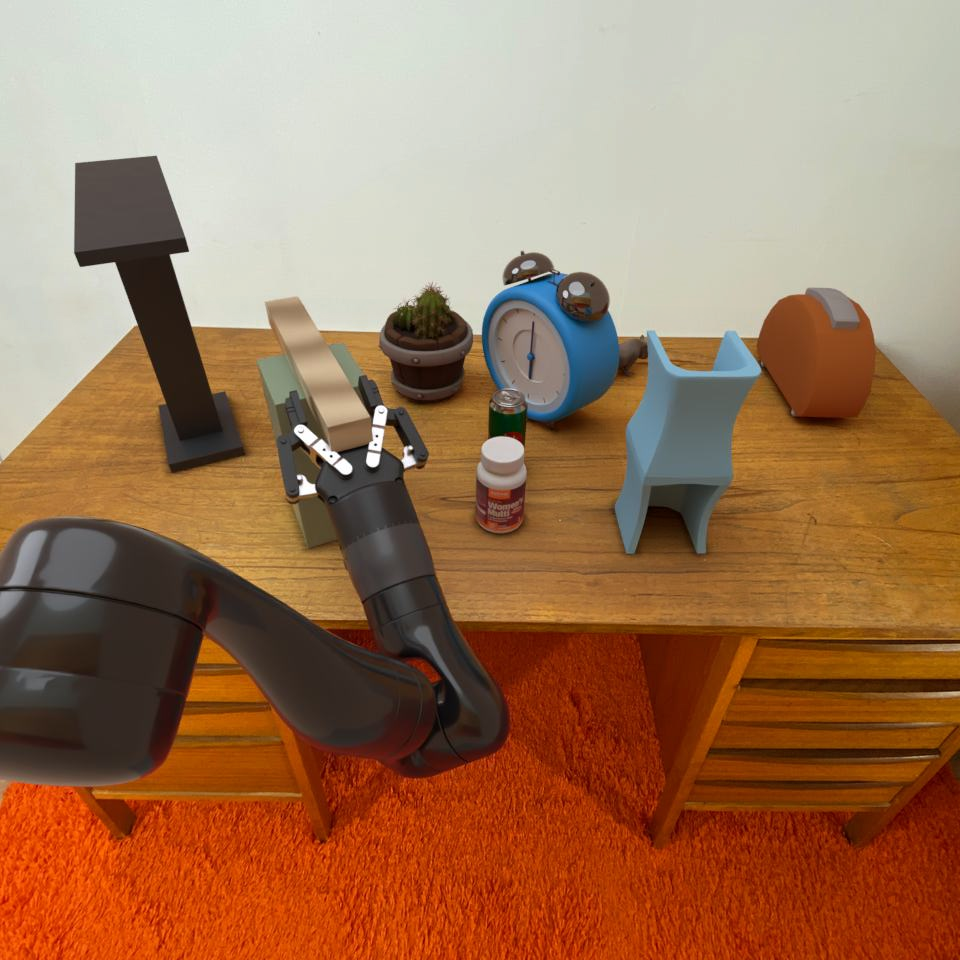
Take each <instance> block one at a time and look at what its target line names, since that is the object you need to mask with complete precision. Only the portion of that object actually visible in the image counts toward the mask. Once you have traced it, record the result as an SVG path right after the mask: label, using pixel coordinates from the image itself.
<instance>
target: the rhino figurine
mask: <svg viewBox="0 0 960 960" xmlns="http://www.w3.org/2000/svg"><path fill="white" fill-rule="evenodd" d="M644 339H645V335H644V334H641V336H639V338H637V337H636V338H630V339H627V340H626V341H622V342H620V343H619V365H618V370H622V374H623V375H625V376H627V377H630V376H631V375H632V372H631V371H630V368H631V367H633V365H634V364H635V363H636V362H637V361H638V359H639V360H648V346H647V341H645V340H644Z"/></svg>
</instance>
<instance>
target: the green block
mask: <svg viewBox="0 0 960 960" xmlns="http://www.w3.org/2000/svg"><path fill="white" fill-rule="evenodd" d="M327 345H328V347H329V349H330V350H331V352H332V354H333V355H334V357H335V359H336V360H337V362H338V364H339V365H340V367H341V369H342V370H343V372H344V374H345V375H346V377H347V379H348V380H349V382H350V384H351V385H352V387H353V389H354V390H355V392H356V394H357V395H358V397H359V399H360V400H361V402H362V404H363V405H364V407H365V409H366V406H365V404H364V401H363V398H362V396H361V393H360V390H359V387H358V380H359V376H363V375H365V373H364V372H363V371H362V369H361V367H360V366H359V364H358V363H357V361H356V360H355V358H354V356H353V355H352V353H351V352H350V350H349V348H348V347H347V345H346V344H345V343H344V342H343V341H341V342H336V343H333V344H327ZM256 365H257V369H258V373H259V378H260V382H261V386H262V390H263V394H264V398H265V402H266V406H267V411H268V415H269V418H270V423H271V427H272V431H273V436H274V440H275V444H276V445H277V442H276V440H277V438H278V437H279V436H281V435H287V434H288V433H290V432H291V430H292V428H291V425H290V422H289V419H288V416H287V413H286V409H285V399H286V398H289V392H290V391H294V390H297V392H298V395H299V398H300V401H301V404H302V407H303V410H304V413H305V416H306V419H307V422H308V429H309V430H310V431H311V432H312V433H313V434H314V435H316V436H317V437H318V438H321V439H322V440H323V441H325V442H326V440H325V438H324V436H323V434H322V432H321V430H320V428H319V426H318V424H317V422H316V420H315V418H314V416H313V413H312V411H311V409H310V407H309V405H308V403H307V401H306V399H305V397H304V395H303V393H302V391H301V389H300V387H299V385H298V382H297V380H296V378H295V376H294V374H293V372H292V370H291V368H290V366H289V364H288V362H287V360H286V358H285V356H284V354H283V353H281V354H278V355H272V356H266V357H262V358H257V359H256ZM366 410H367V409H366ZM372 425H373V418H372V417H371V426H372ZM326 443H327V442H326ZM292 453H293V458H294V463H295V468H296V474H297V475H304V476H305V477H306V479H307V481H308V482H309V483H311V484H315V482H316V480H317V477H318V475H319V472H320V468H319V467H317V466H316V465H315V464H314V463H313V462H312V461H311V459H310V457H309V456H308V455H307V454H306V453H305V452H303V451H302V450H301V449H300V448H298V449H296V450H295V451H293V452H292ZM291 507H292V510H293V512H294V514H295V518H296V520H297V523H298V526H299V528H300V531H301V533H302V536H303V539H304V542H305V544H306V548H307V549H308V550H309V549H311V548H315V547H318V546H322V545H325V544H327V543H332V542H334V541H337V538H336V535H335V532H334V529H333V526H332V523H331V520H330V517H329V514H328V511H327V508H326V506H325V504H324V503H323V502H322V501H321V500H320V499H319V498H318V497H317V496H316V497H310V498H305V499H300V501H299V502H298V503H297V504H291Z"/></svg>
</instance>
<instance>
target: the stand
mask: <svg viewBox="0 0 960 960" xmlns="http://www.w3.org/2000/svg"><path fill="white" fill-rule="evenodd" d="M73 229H74V230H73V254H74V256H75V259H76V261H77V264H78V266H79V267H80V268H85V267H91V266H92V267H93V266H98V265H104V264H106V265H107V264H112V263H115V266H116V269H117V271H118V274H119V278H120V280H121V283H122V286H123V289H124V291H125V294H126V296H127V300H128V302H129V305H130V308H131V310H132V314H133V316H134V319H135V322H136V324H137V327H138V330H139V332H140V336H141V338H142V341H143V344H144V346H145V350H146V352H147V355H148V357H149V360H150V363H151V365H152V368H153V372H154V374H155V377H156V379H157V382H158V385H159V388H160V391H161V394H162V396H163V399H164V401H165V403H164V404H159V405H157V407H158V412H159V418H160V424H161V430H162V436H163V441H164V448H165V454H166V459H167V465H168V468H169V470H170V473H171V474H173V473H178V472H180V471H185V470H188V469H193V468H197V467H200V466H205V465H208V464H213V463H217V462H220V461H225V460H228V459H233V458H237V457H240V456H245V455H246V452H245V448H244V445H243V441H242V438H241V435H240V432H239V430H238V426H237V423H236V420H235V417H234V414H233V411H232V408H231V407H232V406H231V405H230V402H229V398H228V395H227V392H226V390H223V391H219V392H212V389H211V386H210V382H209V379H208V376H207V373H206V369H205V366H204V363H203V359H202V357H201V353H200V349H199V346H198V343H197V339H196V337H195V334H194V329H193V327H192V323H191V320H190V317H189V314H188V309H187V306H186V302H185V300H184V297H183V293H182V290H181V286H180V283H179V281H178V277H177V274H176V270H175V267H174V264H173V261H172V260H173V259H172V257H171V255H178V254H184V253H189V252H190V248H189V245H188V242H187V237H186V235H185V232H184V230H183V227H182V223H181V221H180V218H179V215H178V212H177V210H176V207H175V204H174V201H173V197H172V194H171V193H170V189H169V187H168V183H167V181H166V178H165V175H164V172H163V170H162V167H161V164H160V161H159V158H158V155H148V156H146V155H145V156H137V157H135V156H134V157H126V158H114V159H105V160H104V159H103V160H102V159H101V160H93V161H83V162H82V161H81V162H75V163H74V226H73Z"/></svg>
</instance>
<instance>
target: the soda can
mask: <svg viewBox="0 0 960 960" xmlns="http://www.w3.org/2000/svg"><path fill="white" fill-rule="evenodd" d="M527 409H528V404H527V401H526V400H525V395H524V394H523V393H522V392H520V391H518V390H515V389H500V390H498V389H497V390H496V391H494V392H493V394H492V396H491V399H490V400H489V403H488V423H487V424H488V427H487V429H488V430H487V440H489V439H491V438H494V437H510V438H513V439H516V440H518V441H519V442H520V443H521V444H522V445H523V447H524V450H525V449H526V448H525V447H526V435H527V421H528V418H527Z"/></svg>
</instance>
